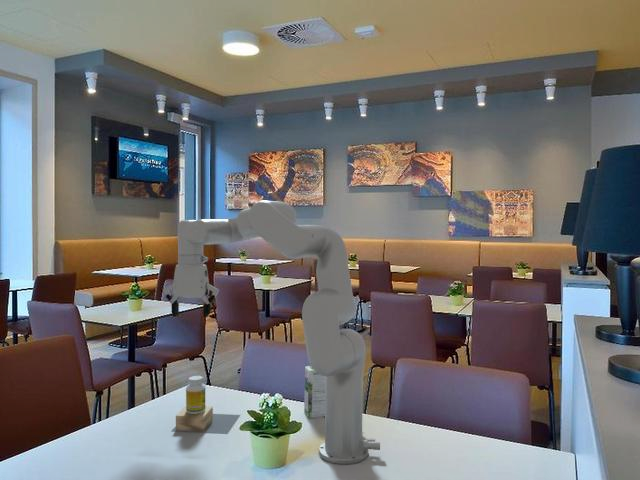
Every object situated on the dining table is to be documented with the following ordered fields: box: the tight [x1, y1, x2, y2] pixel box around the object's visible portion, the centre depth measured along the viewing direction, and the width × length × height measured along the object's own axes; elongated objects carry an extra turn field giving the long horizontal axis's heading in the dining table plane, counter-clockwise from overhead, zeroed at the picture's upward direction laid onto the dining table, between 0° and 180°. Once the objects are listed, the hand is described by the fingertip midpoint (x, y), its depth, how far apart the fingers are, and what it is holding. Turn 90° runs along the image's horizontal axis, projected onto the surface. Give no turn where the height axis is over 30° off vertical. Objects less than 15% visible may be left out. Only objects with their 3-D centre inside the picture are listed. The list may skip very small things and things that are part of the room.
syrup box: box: [303, 365, 326, 419], centre depth 156 cm, size 6×6×14 cm
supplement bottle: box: [185, 375, 206, 414], centre depth 144 cm, size 5×5×10 cm
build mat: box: [171, 413, 241, 435], centre depth 146 cm, size 16×14×1 cm
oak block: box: [175, 405, 214, 431], centre depth 144 cm, size 8×8×4 cm
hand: (191, 316), depth 155 cm, fingers open, 9 cm apart
